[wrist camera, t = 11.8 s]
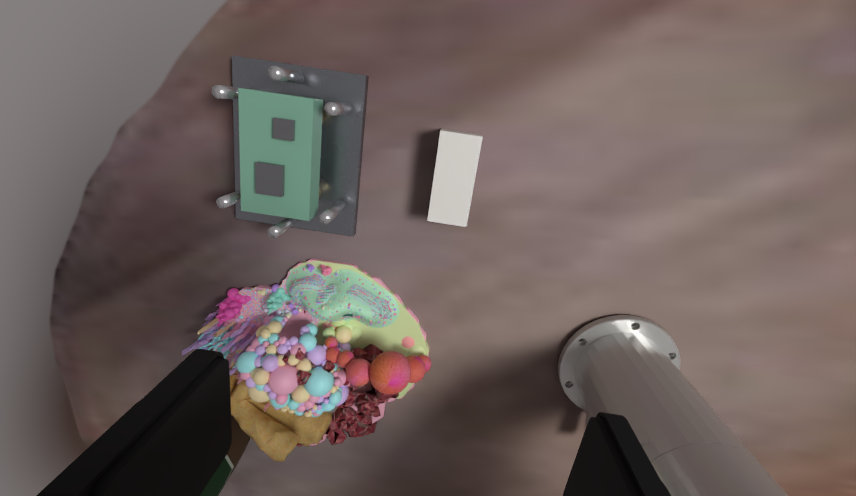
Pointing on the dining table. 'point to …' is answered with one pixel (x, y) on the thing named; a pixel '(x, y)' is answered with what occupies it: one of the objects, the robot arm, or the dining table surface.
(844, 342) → the dining table surface
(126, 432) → the robot arm
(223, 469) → the beer bottle
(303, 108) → the board
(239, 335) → the pastel sphere sculpture
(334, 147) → the chassis
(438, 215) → the white rectangular block
